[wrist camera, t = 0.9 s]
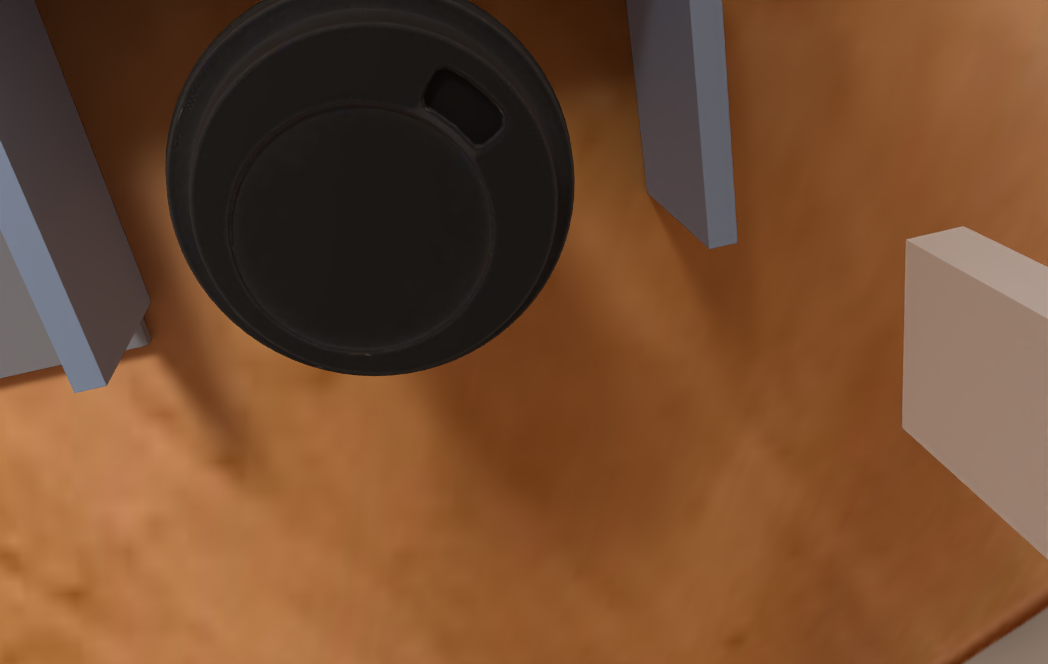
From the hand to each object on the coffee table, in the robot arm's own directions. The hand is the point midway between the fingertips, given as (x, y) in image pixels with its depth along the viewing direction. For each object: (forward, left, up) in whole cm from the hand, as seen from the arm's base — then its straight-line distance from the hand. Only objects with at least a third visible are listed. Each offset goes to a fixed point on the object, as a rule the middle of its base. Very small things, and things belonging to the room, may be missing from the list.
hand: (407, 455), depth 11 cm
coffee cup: (0, 0, -25) cm, 25 cm away
